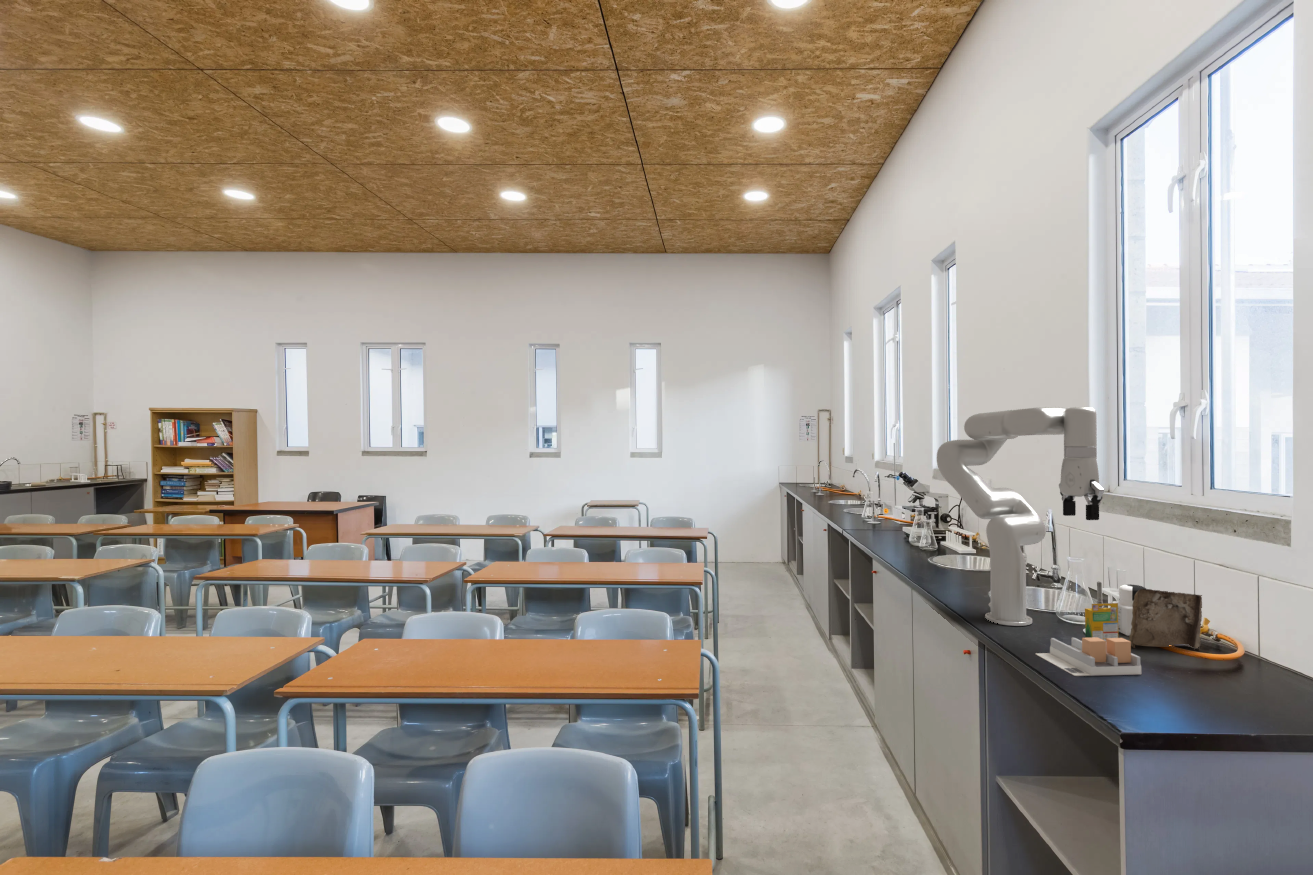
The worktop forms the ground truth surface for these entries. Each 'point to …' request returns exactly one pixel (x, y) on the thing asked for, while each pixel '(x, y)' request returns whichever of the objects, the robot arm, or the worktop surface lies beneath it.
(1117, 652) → the light orange block
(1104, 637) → the crayon box
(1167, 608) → the mineral sample
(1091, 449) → the robot arm
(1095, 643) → the tan rectangular block
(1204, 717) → the worktop surface
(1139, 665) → the white divided tray
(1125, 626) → the container
